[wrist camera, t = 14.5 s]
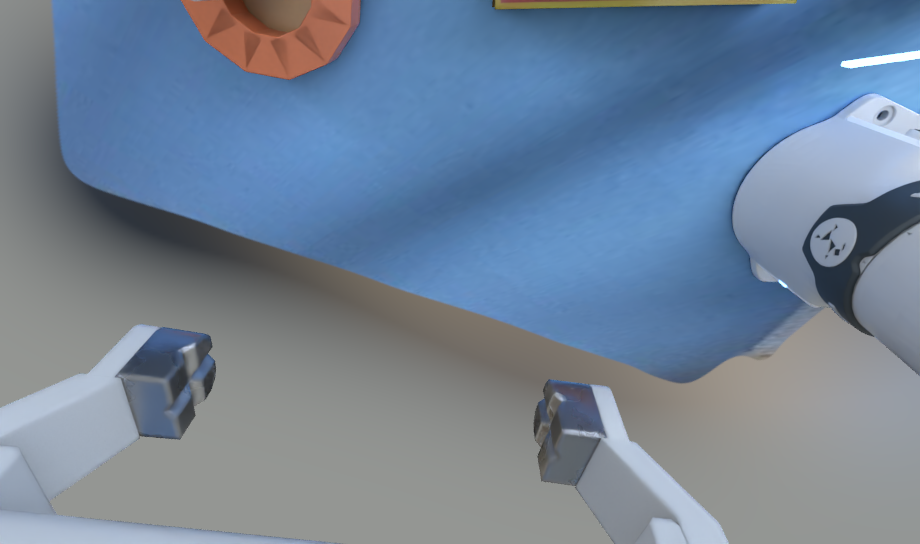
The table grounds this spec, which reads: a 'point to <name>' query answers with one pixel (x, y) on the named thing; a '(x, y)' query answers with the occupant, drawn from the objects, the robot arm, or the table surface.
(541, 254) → the table surface
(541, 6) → the hardcover book
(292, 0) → the stand
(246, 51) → the ring
